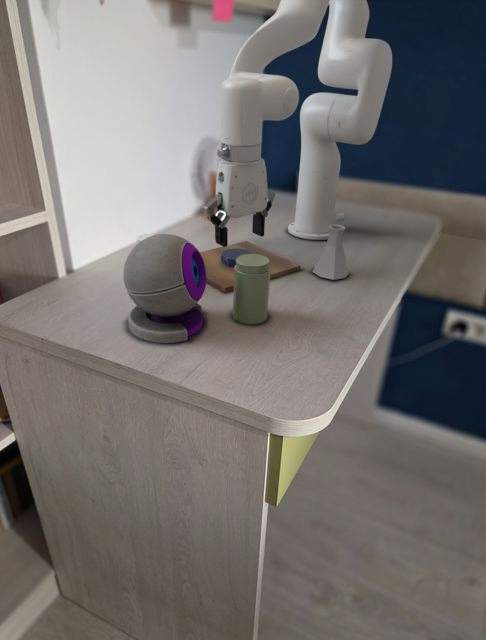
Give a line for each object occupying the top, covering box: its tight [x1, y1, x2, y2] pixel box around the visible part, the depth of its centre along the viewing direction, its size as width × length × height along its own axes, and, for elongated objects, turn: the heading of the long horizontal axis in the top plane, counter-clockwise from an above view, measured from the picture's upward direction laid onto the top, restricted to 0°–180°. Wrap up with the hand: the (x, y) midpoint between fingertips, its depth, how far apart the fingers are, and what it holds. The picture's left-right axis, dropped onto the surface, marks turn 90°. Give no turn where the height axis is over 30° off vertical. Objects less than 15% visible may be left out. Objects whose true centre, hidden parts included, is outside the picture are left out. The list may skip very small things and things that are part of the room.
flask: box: [312, 223, 350, 281], centre depth 101 cm, size 7×7×10 cm
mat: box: [199, 240, 301, 293], centre depth 105 cm, size 20×18×1 cm
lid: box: [221, 248, 253, 267], centre depth 104 cm, size 7×7×2 cm
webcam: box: [122, 233, 207, 344], centre depth 79 cm, size 13×13×15 cm
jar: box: [232, 254, 271, 325], centre depth 84 cm, size 6×6×10 cm
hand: (240, 239), depth 103 cm, fingers open, 9 cm apart
